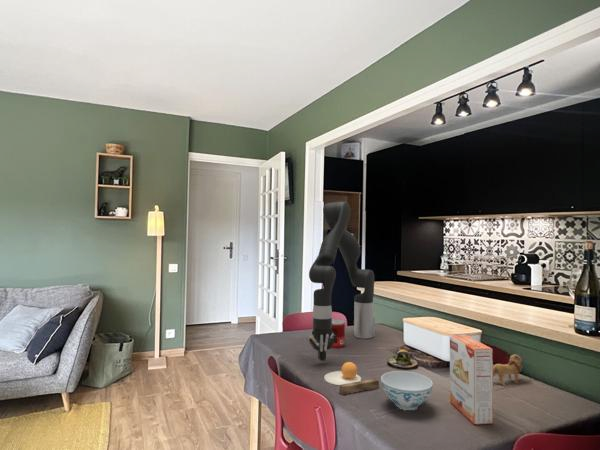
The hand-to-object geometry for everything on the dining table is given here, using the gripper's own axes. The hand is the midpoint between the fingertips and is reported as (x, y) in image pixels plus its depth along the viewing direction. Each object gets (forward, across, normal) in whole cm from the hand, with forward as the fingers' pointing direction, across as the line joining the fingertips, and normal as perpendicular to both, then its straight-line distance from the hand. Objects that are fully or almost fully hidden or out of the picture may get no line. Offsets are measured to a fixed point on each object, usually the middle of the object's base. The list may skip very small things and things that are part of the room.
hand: (322, 360), depth 151 cm
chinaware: (+2, -7, +42) cm, 43 cm away
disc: (+2, 0, +16) cm, 16 cm away
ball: (-1, -2, +17) cm, 17 cm away
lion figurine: (+2, -51, +41) cm, 66 cm away
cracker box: (+2, -21, +53) cm, 57 cm away
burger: (+2, -29, +13) cm, 32 cm away
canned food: (+2, -17, -19) cm, 26 cm away
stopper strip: (+2, 0, +27) cm, 27 cm away
